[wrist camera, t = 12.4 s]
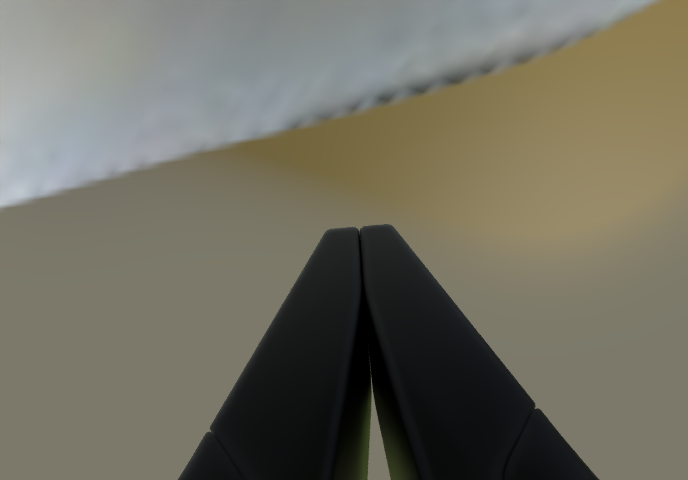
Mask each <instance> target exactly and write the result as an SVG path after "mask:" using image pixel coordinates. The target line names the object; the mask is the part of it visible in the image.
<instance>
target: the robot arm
mask: <svg viewBox="0 0 688 480" xmlns="http://www.w3.org/2000/svg"><path fill="white" fill-rule="evenodd" d="M369 356H370V358H369ZM370 367H371V371H370ZM371 377H372V386H373V394H374V399H375V405H376V410H377V416H378V420H379V425H380V430H381V434H382V439H383V444H384V449H385V454H386V459H387V463H388V468H389V473H390V478H391V480H599V479H598V478H597V477H596V476H595V474H594V473H593V472H592V471H591V470H590V469H589V467H588V466H587V465H586V464H585V463H584V462H583V461H582V459H581V458H580V457H579V456H578V455H577V453H576V452H575V451H574V450H573V449H572V448H571V446H570V445H569V444H568V443H567V442H566V441H565V439H564V438H563V437H562V436H561V435H560V433H559V432H558V431H557V430H556V429H555V427H554V426H553V425H552V423H551V422H550V421H549V420H548V418H547V417H546V416H545V415H544V413H543V412H542V411H541V410H540V409H535V403H534V401H533V400H532V399H531V398H530V396H529V395H528V394H527V393H526V391H525V390H524V389H523V388H522V387H521V385H520V384H519V383H518V381H517V380H516V379H515V378H514V376H513V375H512V374H511V373H510V372H509V370H508V369H507V368H506V366H505V365H504V364H503V363H502V361H501V360H500V359H499V358H498V357H497V356H496V354H495V353H494V351H493V350H492V349H491V348H490V347H489V345H488V344H487V343H486V342H485V340H484V339H483V338H482V337H481V335H480V334H479V333H478V332H477V330H476V329H475V328H474V327H473V325H472V324H471V323H470V322H469V320H468V319H467V318H466V317H465V316H464V314H463V313H462V312H461V310H460V309H459V308H458V307H457V305H456V304H455V303H454V302H453V300H452V299H451V298H450V297H449V295H448V294H447V293H446V292H445V290H444V289H443V288H442V287H441V285H440V284H439V283H438V282H437V280H436V279H435V278H434V277H433V275H432V274H431V273H430V272H429V270H428V269H427V268H426V267H425V265H424V264H423V263H422V262H421V261H420V259H419V258H418V257H417V256H416V254H415V253H414V252H413V251H412V249H411V248H410V247H409V246H408V244H407V243H406V242H405V241H404V239H403V238H402V237H401V236H400V234H399V233H398V232H397V231H396V229H395V228H394V227H393V226H391V225H389V224H384V225H373V226H364V227H362V228H361V229H360V234H359V230H358V229H357V228H355V227H348V228H337V229H329V230H327V231H326V232H325V234H324V235H323V237H322V239H321V240H320V242H319V243H318V245H317V247H316V249H315V250H314V252H313V254H312V255H311V257H310V259H309V261H308V262H307V264H306V265H305V267H304V269H303V271H302V272H301V274H300V276H299V277H298V279H297V281H296V283H295V284H294V286H293V287H292V289H291V291H290V293H289V294H288V296H287V298H286V299H285V301H284V303H283V304H282V306H281V308H280V309H279V311H278V313H277V315H276V316H275V318H274V320H273V321H272V323H271V325H270V326H269V328H268V330H267V331H266V333H265V335H264V337H263V338H262V340H261V342H260V343H259V345H258V347H257V348H256V350H255V352H254V354H253V355H252V357H251V359H250V360H249V362H248V364H247V365H246V367H245V369H244V370H243V372H242V374H241V375H240V377H239V379H238V381H237V382H236V384H235V386H234V387H233V389H232V391H231V392H230V394H229V396H228V397H227V399H226V401H225V403H224V404H223V406H222V408H221V409H220V411H219V413H218V414H217V416H216V418H215V419H214V421H213V423H212V425H211V427H210V430H211V432H207V433H206V434H205V436H204V437H203V439H202V441H201V443H200V444H199V446H198V448H197V449H196V451H195V453H194V454H193V456H192V458H191V460H190V461H189V463H188V465H187V466H186V468H185V469H184V471H183V472H182V474H181V476H180V477H179V479H178V480H367V477H368V458H369V440H370V419H371V392H372V391H371Z"/></svg>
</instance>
